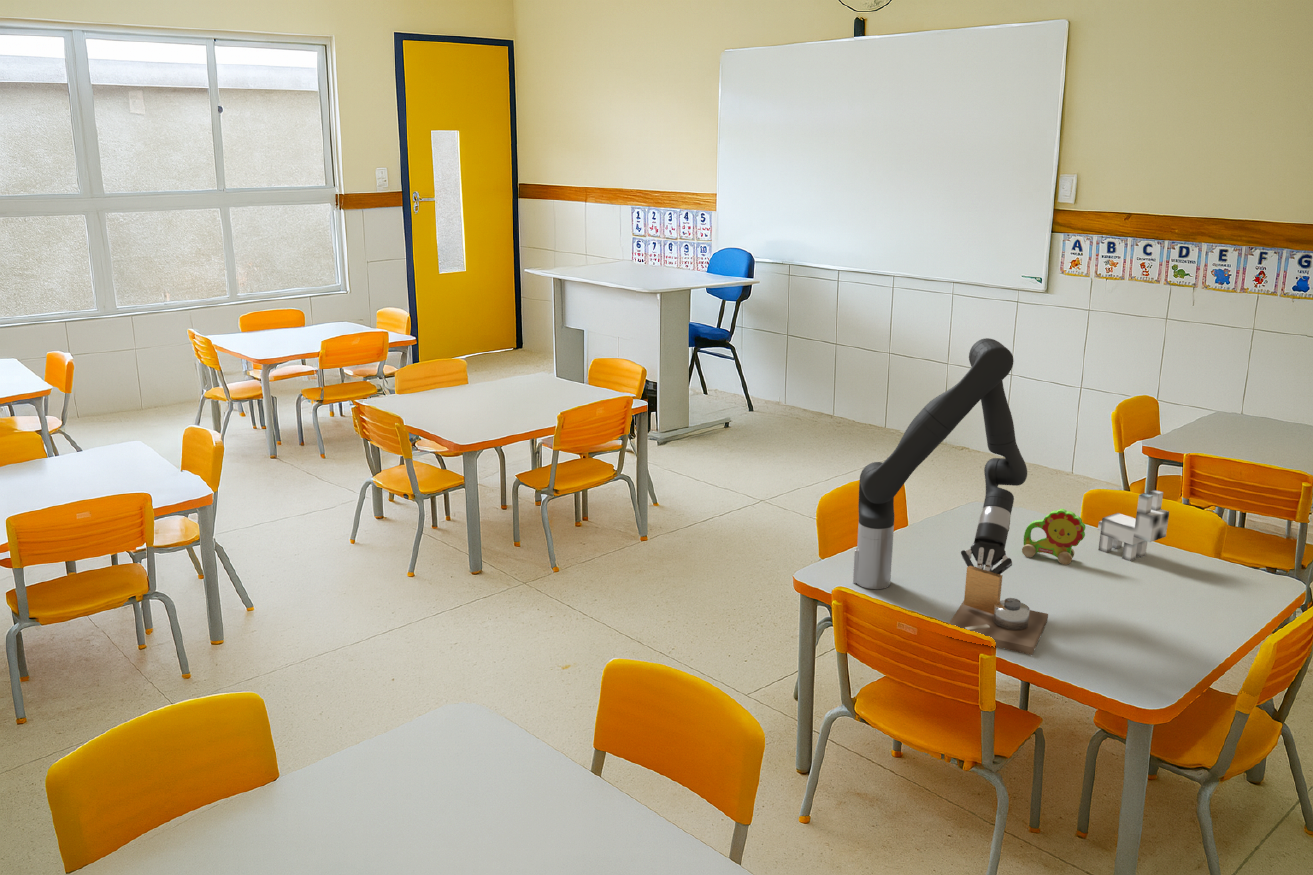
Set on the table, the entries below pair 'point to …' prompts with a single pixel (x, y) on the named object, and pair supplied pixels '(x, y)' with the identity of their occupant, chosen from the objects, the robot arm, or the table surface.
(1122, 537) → the toy llama
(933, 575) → the table surface
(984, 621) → the base
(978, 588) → the lock handle
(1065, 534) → the toy lion
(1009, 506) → the robot arm
